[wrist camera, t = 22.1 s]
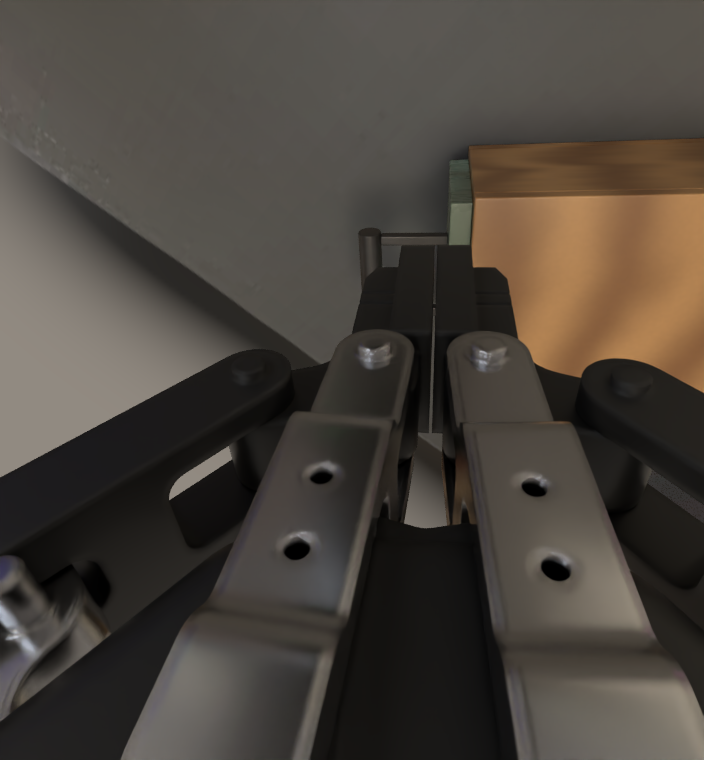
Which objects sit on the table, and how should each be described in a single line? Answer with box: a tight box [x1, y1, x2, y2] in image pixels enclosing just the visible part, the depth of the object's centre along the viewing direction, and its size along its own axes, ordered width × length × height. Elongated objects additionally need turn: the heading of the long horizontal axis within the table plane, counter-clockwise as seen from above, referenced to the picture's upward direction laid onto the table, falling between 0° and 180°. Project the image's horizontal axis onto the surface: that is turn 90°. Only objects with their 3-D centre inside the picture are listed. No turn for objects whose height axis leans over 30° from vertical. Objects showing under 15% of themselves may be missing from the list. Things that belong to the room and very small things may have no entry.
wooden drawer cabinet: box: [468, 138, 704, 393], centre depth 35 cm, size 15×13×10 cm
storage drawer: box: [358, 160, 473, 316], centre depth 35 cm, size 19×11×8 cm, turn 94°
